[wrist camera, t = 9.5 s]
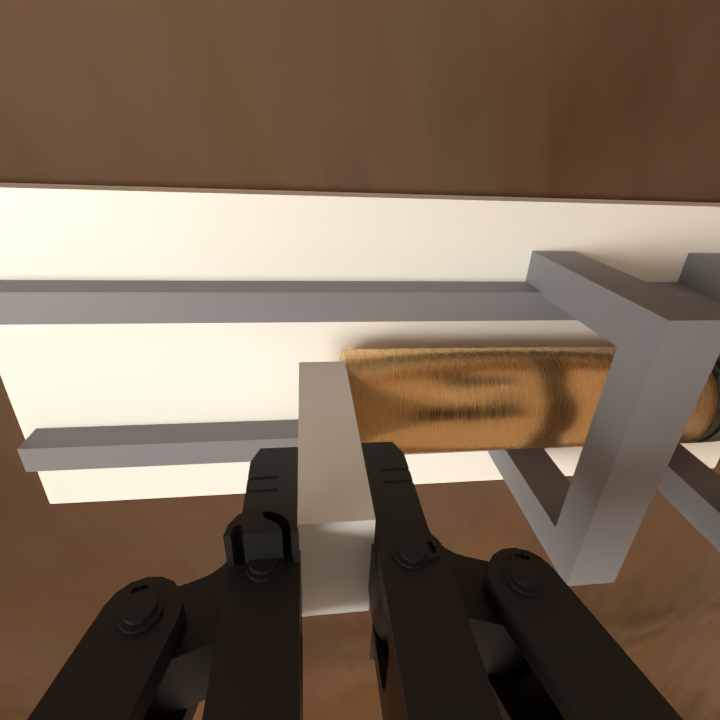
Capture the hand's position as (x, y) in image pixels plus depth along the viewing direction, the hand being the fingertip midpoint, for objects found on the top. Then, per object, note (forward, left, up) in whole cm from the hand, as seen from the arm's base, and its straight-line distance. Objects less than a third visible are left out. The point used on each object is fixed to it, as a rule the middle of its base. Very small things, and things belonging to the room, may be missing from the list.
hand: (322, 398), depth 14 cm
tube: (+9, 0, -2) cm, 9 cm away
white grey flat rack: (+4, 0, -3) cm, 5 cm away
